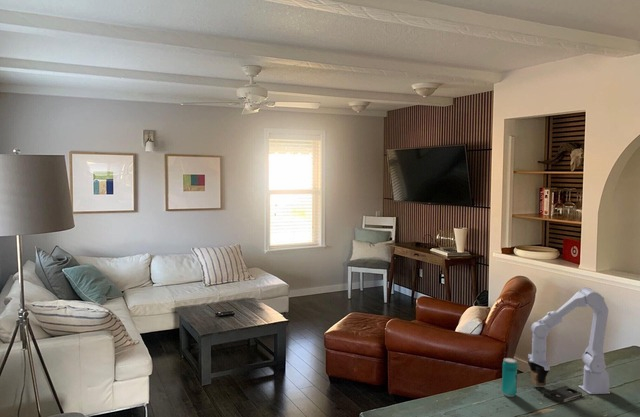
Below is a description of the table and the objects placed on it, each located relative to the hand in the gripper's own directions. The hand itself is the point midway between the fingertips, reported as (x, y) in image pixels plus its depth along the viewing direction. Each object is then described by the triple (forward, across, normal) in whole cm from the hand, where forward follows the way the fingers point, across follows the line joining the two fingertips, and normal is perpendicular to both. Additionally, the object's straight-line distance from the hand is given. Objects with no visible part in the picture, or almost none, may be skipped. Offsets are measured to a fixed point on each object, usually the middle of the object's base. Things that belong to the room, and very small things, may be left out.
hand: (538, 380), depth 217 cm
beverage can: (+3, +6, -16) cm, 17 cm away
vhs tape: (+4, +9, +6) cm, 12 cm away
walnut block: (+2, 0, 0) cm, 2 cm away
